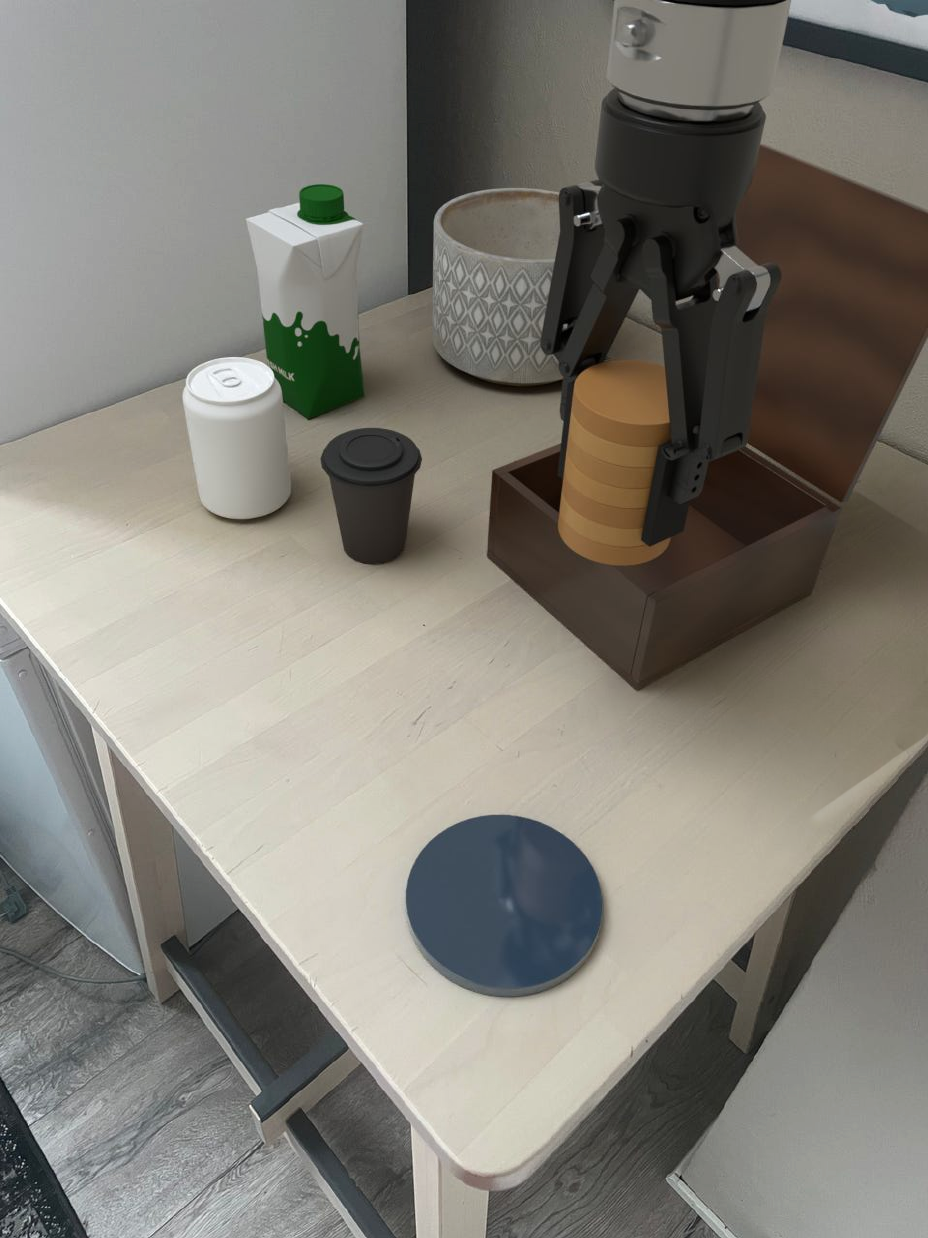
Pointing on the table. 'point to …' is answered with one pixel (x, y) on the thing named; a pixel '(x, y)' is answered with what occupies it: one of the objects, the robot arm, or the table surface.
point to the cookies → (613, 460)
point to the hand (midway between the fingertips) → (618, 502)
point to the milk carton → (310, 298)
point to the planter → (495, 283)
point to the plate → (503, 905)
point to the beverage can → (237, 437)
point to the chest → (666, 562)
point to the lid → (832, 314)
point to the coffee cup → (372, 490)
